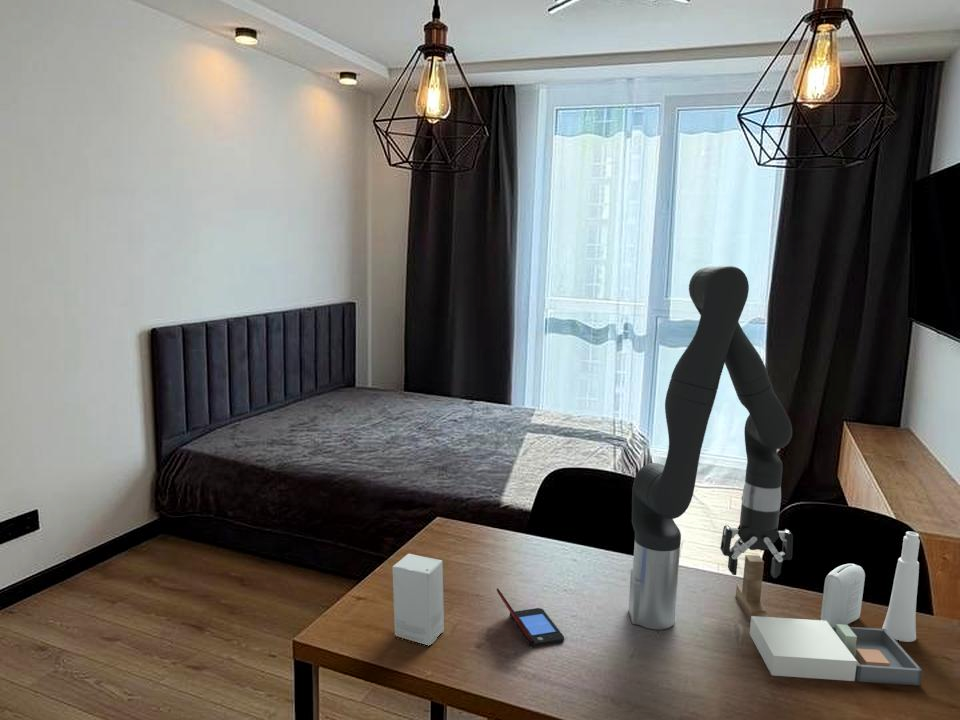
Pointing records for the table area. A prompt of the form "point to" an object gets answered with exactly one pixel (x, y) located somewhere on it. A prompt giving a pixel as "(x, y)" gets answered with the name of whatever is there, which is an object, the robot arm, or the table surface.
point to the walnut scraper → (751, 587)
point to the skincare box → (418, 598)
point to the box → (900, 661)
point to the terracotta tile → (871, 657)
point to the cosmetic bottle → (904, 592)
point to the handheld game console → (535, 626)
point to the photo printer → (843, 595)
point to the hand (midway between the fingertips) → (753, 574)
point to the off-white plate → (802, 648)
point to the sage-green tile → (847, 637)
